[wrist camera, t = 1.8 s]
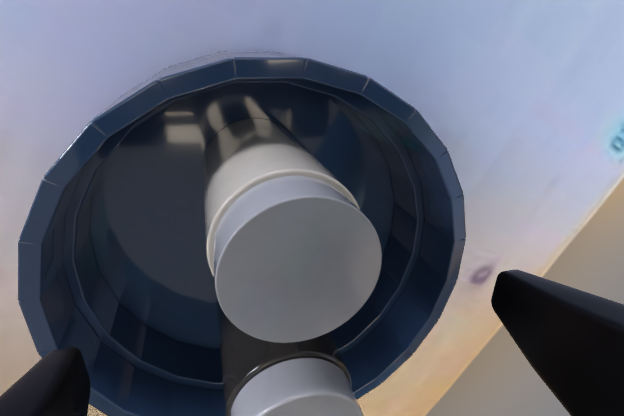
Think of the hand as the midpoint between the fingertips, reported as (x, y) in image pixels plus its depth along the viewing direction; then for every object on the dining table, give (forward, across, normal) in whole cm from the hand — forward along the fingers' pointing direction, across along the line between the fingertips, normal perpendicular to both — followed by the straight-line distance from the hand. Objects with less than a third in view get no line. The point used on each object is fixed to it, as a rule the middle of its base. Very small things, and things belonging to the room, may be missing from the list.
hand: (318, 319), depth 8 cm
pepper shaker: (+10, 0, +6) cm, 12 cm away
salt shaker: (+10, 0, 0) cm, 10 cm away
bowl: (+10, 0, +3) cm, 11 cm away
